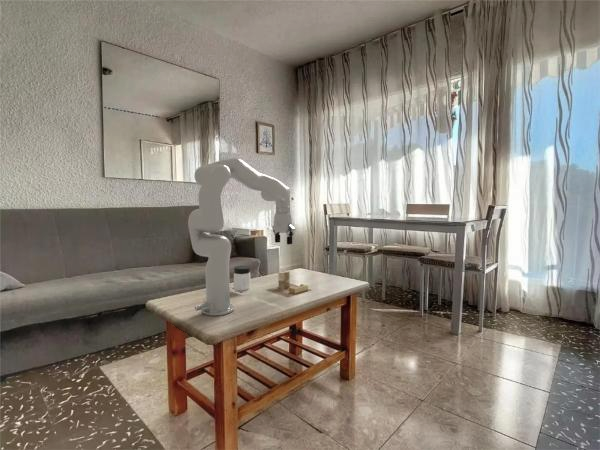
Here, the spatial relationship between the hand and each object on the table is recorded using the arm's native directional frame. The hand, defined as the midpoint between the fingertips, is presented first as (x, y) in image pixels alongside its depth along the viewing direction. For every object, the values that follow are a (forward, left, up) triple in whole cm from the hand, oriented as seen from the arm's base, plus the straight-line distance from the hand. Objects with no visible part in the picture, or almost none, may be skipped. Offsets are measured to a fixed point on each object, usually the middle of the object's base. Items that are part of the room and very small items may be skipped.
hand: (283, 243), depth 162 cm
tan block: (-3, -3, -22) cm, 23 cm away
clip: (-3, -13, -22) cm, 26 cm away
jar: (-19, +11, -24) cm, 32 cm away
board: (-4, -9, -24) cm, 25 cm away
